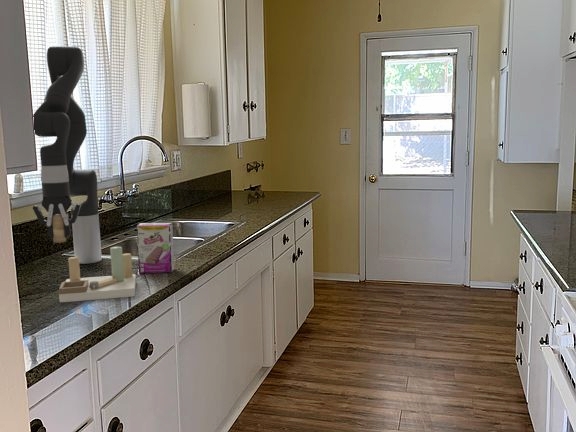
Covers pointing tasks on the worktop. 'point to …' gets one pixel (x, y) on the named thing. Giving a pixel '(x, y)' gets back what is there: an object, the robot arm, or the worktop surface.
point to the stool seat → (80, 286)
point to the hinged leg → (116, 269)
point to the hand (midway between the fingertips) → (59, 237)
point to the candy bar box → (155, 247)
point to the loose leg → (58, 229)
